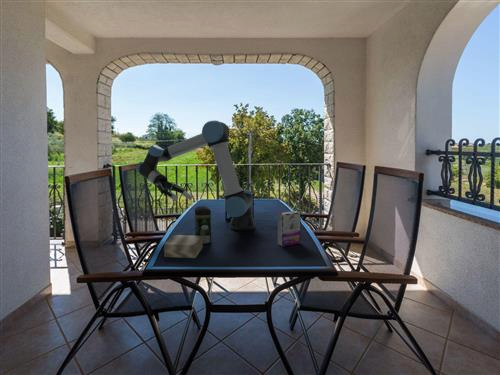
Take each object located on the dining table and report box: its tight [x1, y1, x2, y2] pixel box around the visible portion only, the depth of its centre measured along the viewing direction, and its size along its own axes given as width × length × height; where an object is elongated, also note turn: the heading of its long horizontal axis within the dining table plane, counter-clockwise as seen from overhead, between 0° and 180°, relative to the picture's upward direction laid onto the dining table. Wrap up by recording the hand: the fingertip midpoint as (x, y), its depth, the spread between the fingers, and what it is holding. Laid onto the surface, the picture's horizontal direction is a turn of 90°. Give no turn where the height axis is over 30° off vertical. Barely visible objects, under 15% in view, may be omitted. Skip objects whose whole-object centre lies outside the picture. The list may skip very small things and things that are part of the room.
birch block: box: [163, 234, 204, 259], centre depth 143 cm, size 14×14×6 cm
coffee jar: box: [194, 205, 212, 245], centre depth 158 cm, size 10×8×19 cm
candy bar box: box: [277, 210, 302, 248], centre depth 155 cm, size 11×5×16 cm, turn 117°
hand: (184, 198), depth 168 cm, fingers open, 13 cm apart
